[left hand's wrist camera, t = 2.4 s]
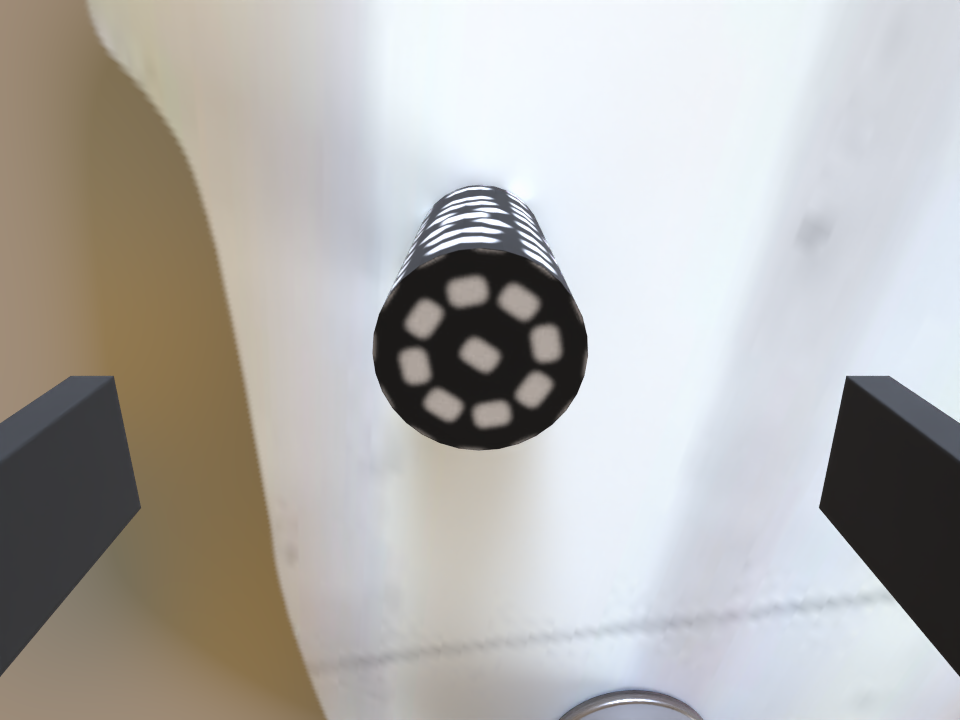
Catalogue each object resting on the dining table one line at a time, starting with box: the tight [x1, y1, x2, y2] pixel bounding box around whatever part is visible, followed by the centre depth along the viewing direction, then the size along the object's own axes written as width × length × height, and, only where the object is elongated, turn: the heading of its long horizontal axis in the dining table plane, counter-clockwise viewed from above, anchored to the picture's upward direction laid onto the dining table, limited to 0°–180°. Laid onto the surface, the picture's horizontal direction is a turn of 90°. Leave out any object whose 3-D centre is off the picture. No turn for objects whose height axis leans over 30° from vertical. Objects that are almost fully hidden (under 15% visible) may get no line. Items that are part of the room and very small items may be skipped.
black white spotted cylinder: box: [373, 185, 588, 450], centre depth 36 cm, size 8×8×20 cm
